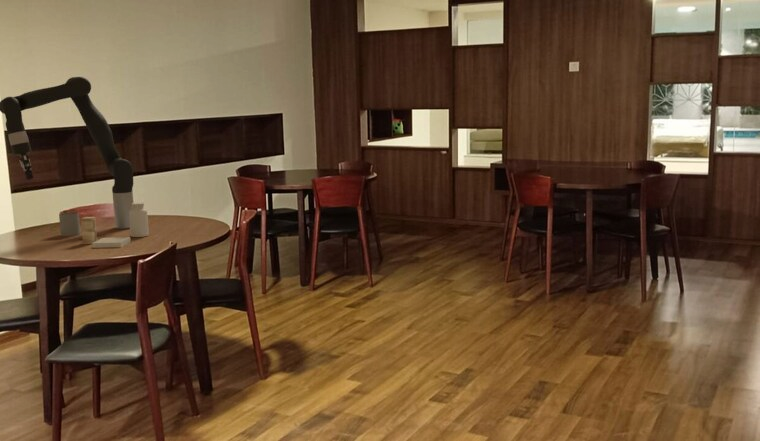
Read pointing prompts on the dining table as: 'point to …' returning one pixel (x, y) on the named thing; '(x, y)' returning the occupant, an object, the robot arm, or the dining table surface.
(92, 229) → the maple block
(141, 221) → the pill bottle
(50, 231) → the dining table surface
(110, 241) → the block
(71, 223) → the cup
